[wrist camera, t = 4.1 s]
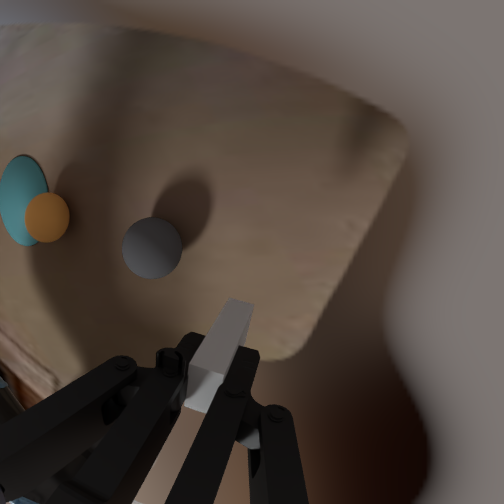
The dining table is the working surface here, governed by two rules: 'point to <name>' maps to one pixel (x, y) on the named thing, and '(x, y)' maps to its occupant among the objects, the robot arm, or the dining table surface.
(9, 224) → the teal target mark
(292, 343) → the dining table surface
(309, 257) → the dining table surface
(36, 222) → the orange ball
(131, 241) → the charcoal ball
